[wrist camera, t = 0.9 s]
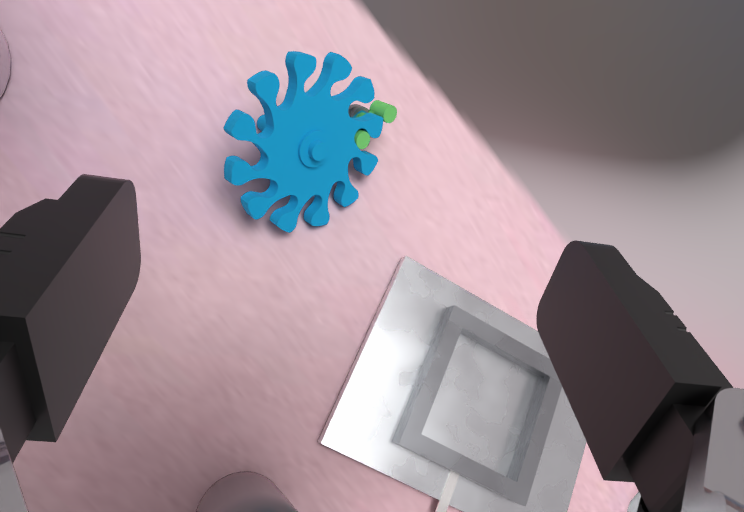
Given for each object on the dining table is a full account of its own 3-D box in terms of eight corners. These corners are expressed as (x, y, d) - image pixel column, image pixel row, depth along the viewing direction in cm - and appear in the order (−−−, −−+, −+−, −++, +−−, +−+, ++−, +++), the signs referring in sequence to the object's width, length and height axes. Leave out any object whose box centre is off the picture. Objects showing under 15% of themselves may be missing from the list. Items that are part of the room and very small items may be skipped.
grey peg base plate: (311, 455, 29) (319, 460, 27) (401, 258, 34) (413, 251, 32) (542, 565, 32) (564, 576, 30) (597, 370, 36) (619, 370, 35)
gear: (251, 263, 29) (216, 76, 23) (204, 220, 33) (164, 52, 27) (402, 197, 34) (404, 34, 29) (347, 168, 38) (339, 19, 33)
